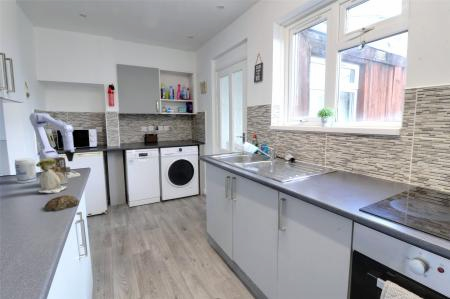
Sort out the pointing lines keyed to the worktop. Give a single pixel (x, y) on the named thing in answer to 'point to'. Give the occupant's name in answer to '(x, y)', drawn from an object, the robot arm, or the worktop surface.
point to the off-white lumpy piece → (49, 177)
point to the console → (72, 174)
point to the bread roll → (61, 203)
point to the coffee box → (60, 170)
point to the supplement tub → (25, 170)
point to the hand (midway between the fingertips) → (70, 161)
